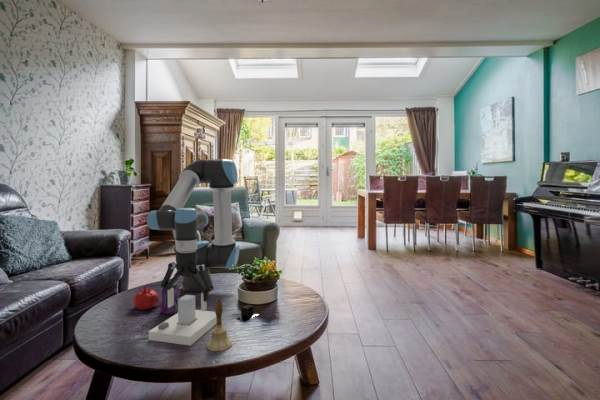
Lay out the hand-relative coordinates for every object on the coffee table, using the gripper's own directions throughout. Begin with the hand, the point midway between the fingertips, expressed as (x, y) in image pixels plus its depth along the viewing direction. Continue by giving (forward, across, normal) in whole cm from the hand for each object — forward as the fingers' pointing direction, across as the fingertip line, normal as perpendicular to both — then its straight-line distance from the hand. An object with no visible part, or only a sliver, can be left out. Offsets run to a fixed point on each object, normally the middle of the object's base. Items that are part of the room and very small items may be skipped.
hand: (187, 308), depth 129 cm
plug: (+8, 0, 0) cm, 8 cm away
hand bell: (+8, +17, -8) cm, 21 cm away
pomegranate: (+8, -29, +15) cm, 34 cm away
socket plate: (+8, 0, 0) cm, 8 cm away
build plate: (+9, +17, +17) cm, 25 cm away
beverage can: (+8, -16, +13) cm, 22 cm away
